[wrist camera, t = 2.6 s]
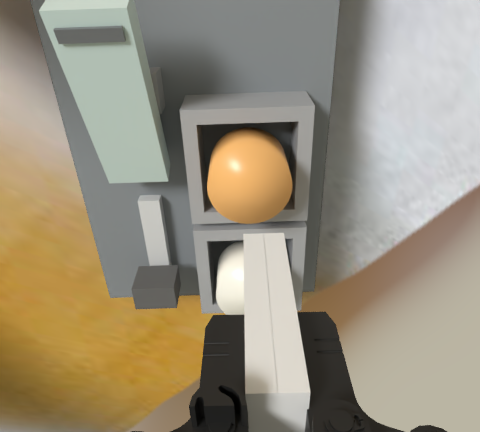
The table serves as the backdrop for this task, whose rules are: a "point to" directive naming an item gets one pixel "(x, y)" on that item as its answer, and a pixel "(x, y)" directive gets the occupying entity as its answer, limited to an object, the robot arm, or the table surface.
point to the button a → (231, 279)
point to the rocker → (111, 84)
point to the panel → (213, 134)
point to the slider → (156, 287)
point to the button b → (249, 176)
